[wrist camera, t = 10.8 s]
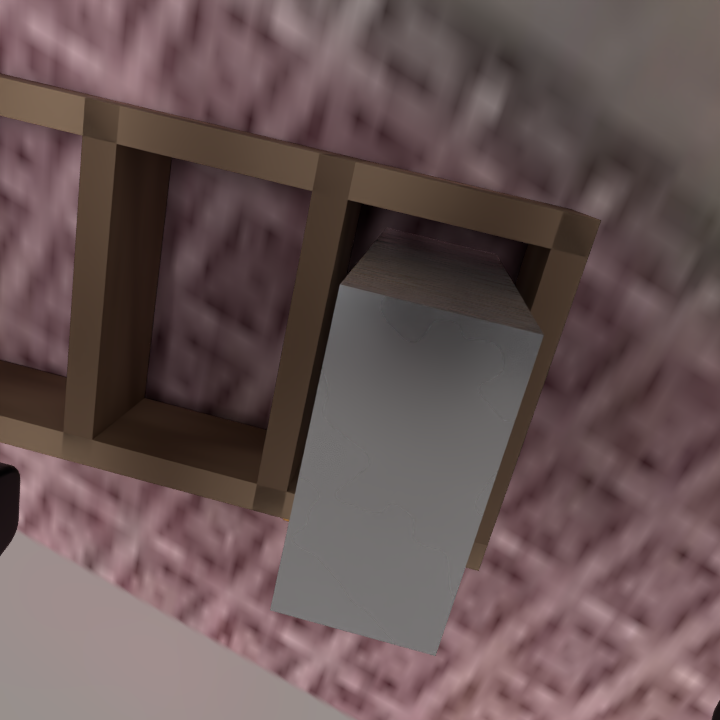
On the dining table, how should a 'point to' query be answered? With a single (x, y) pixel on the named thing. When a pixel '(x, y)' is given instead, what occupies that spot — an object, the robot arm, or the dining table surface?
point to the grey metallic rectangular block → (405, 439)
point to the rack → (307, 311)
